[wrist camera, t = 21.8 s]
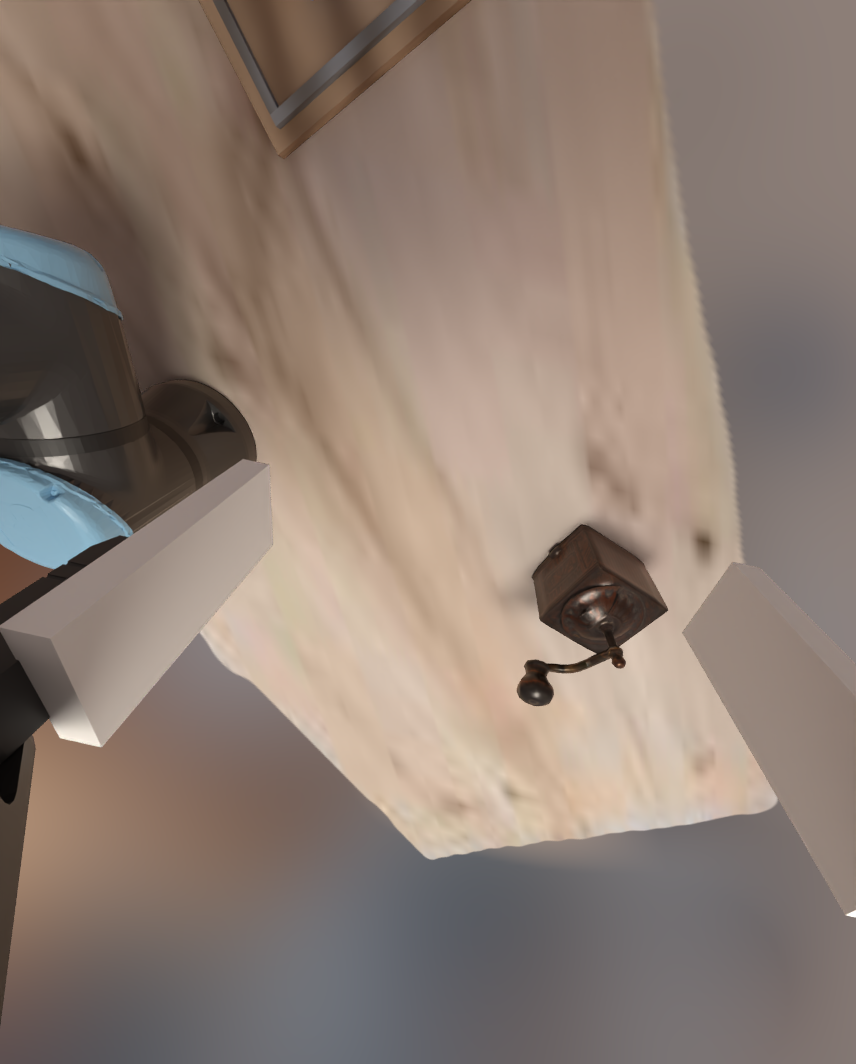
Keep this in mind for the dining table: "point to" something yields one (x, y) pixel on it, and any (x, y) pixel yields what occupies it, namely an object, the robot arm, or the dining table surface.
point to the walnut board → (317, 53)
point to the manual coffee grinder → (589, 604)
